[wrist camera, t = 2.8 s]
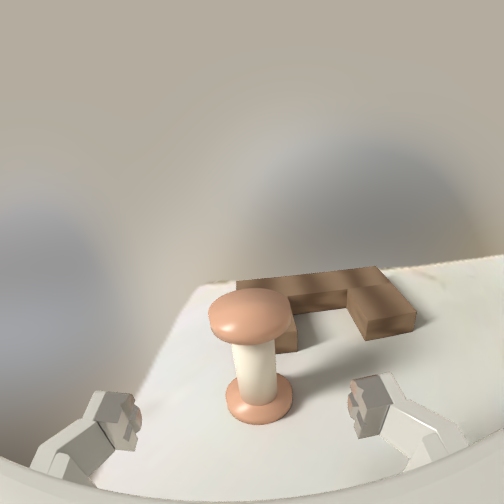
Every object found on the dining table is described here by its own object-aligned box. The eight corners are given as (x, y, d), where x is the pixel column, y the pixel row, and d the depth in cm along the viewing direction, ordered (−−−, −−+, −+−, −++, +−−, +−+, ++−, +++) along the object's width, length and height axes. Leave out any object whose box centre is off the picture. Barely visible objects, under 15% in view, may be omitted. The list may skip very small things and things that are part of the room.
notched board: (374, 282, 48) (375, 266, 47) (412, 331, 35) (416, 311, 34) (238, 298, 48) (236, 281, 47) (238, 357, 35) (235, 337, 33)
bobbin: (287, 375, 31) (284, 284, 27) (296, 420, 25) (296, 326, 21) (227, 380, 31) (211, 291, 27) (226, 427, 25) (204, 335, 21)
